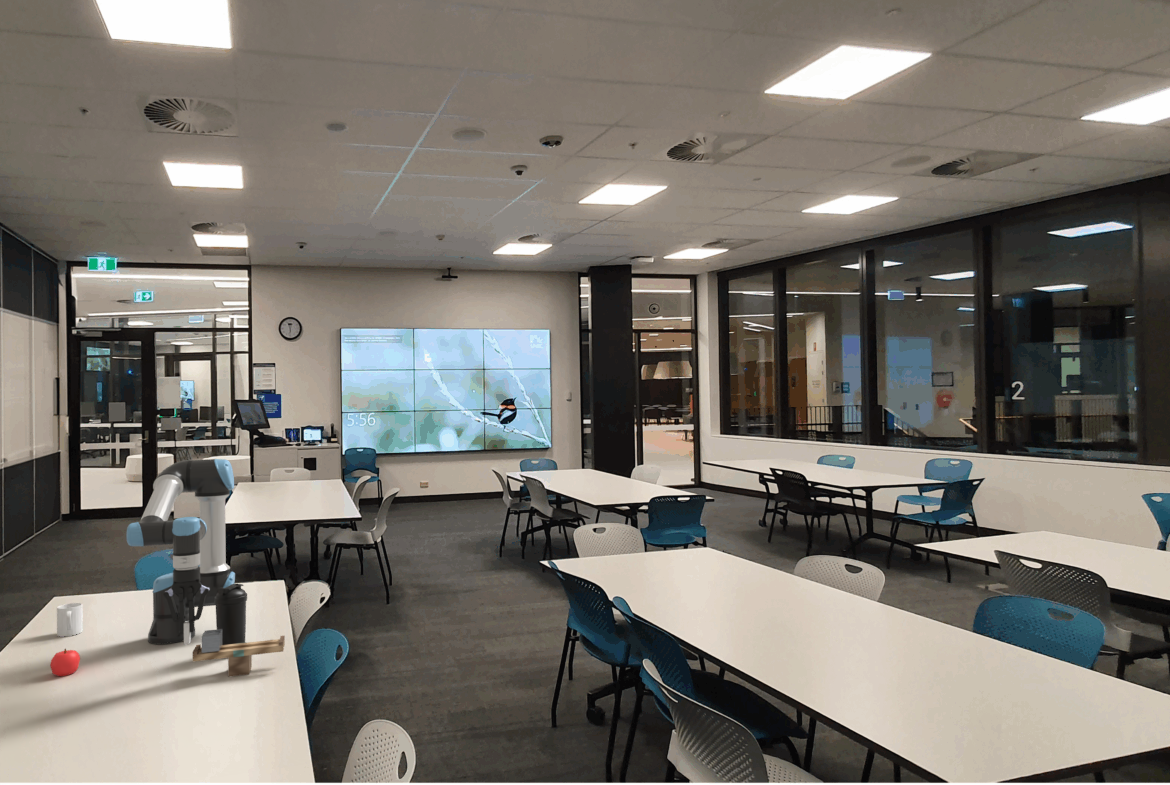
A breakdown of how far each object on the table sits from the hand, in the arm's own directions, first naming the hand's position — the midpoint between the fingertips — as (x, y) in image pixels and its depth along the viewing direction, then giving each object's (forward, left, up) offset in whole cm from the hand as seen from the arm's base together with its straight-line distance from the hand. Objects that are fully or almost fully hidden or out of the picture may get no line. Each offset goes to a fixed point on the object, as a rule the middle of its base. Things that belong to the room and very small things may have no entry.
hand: (187, 642), depth 232 cm
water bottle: (+10, +20, -11) cm, 25 cm away
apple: (-38, +18, -11) cm, 44 cm away
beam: (+15, 0, -11) cm, 19 cm away
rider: (+7, 0, -5) cm, 8 cm away
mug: (-50, +63, -11) cm, 81 cm away
